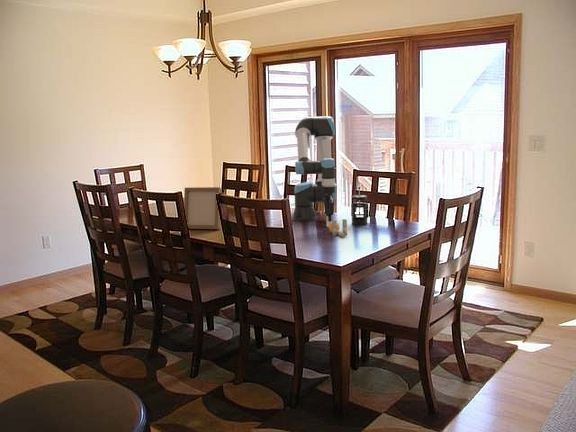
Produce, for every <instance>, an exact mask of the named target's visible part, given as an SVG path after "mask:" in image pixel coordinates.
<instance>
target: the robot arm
mask: <svg viewBox="0 0 576 432" xmlns="http://www.w3.org/2000/svg"><path fill="white" fill-rule="evenodd" d="M335 127H336V126H335V121H334V118H333V117H332V116H325V115H324V116H323V115H322V116H307V117H304V118H303V119H301V120H300V121H299V122H298V124H297V125H296V127H295V131H294V134H295V138H296V144H297V161H296V162H295V164H294V165H295V166H294V167H295V174H296V175H317V176H318V178H317V179H316V181H315V184H314V182H313V181H305V182H301V183H298V184H295V186H294V192H293V193H294V210H293V214H292V221H295V222H312V221H316V220H317V213H316V211H315V208H314V204H315V203H316V204H317V203H323V209H324V210H323V211H324V214H325V217H326V220H325V221H326V227H327V228H329V225H330V223H332V220H333V215H334V209H335V201H336V200H337V192H338V184H337V183H336V178H335V177H336V176H335V174H336V173H335V172H336V170H335V169H336V164H335V159H334V158H332V144H331V143H332V142H331V141H332V139H333V138H334V135H336V128H335ZM311 136H314V139H315V141H316V142H317V144H316V145H317V147H316V149H317V153H316V154H317V160H312V157H311V142H310V138H311Z"/></svg>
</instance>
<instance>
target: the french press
mask: <svg viewBox="0 0 576 432" xmlns="http://www.w3.org/2000/svg"><path fill="white" fill-rule="evenodd" d="M355 187H356V188H358V194H355V195H352V196H351V197H352V200H358V202H356V203H355V202H354V203H351V208H352V218H351V225H352V226H367V225H368V218H369V203H368V202H367V203H366V202H362V201H366V200H367V197H368V196H367V195H364V194H360V191H361V188H363V185H357V186H356V185H355ZM357 208H358V211H357ZM361 208H362V209H363V210H362V211H361Z"/></svg>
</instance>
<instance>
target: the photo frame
mask: <svg viewBox="0 0 576 432" xmlns="http://www.w3.org/2000/svg"><path fill="white" fill-rule="evenodd" d="M216 193H221V194H222V188H221V187H219V186H215V187H213V186H211V187H208V186H207V187H204V186H203V187H184V196H183V199H184V201H183V208H184V207H185V213H186V218H187V223H188V228H189V229H188V230H221V222H220V216H219V212H218V207H217V203H216V196H215V195H216Z"/></svg>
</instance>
